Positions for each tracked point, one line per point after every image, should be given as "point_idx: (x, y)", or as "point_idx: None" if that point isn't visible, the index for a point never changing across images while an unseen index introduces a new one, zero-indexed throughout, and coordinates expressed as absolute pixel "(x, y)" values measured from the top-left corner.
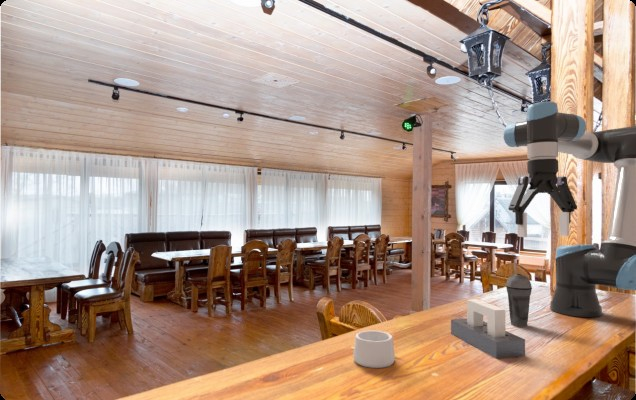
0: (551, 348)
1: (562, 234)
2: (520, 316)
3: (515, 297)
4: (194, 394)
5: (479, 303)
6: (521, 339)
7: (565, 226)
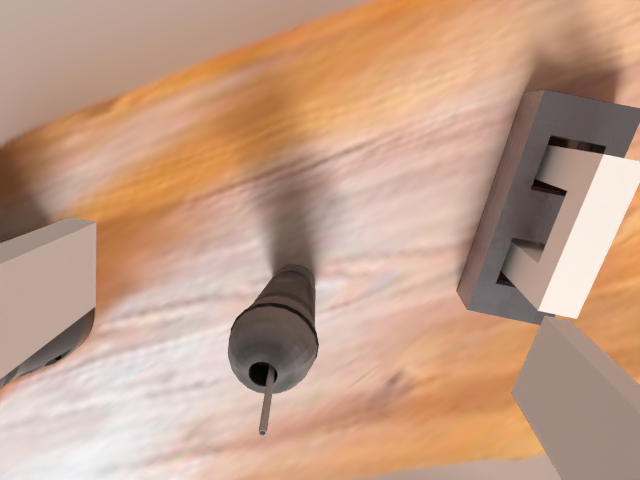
0: (399, 105)
1: (90, 275)
2: (306, 279)
3: (310, 315)
4: None
5: (593, 260)
6: (554, 94)
7: (24, 274)
